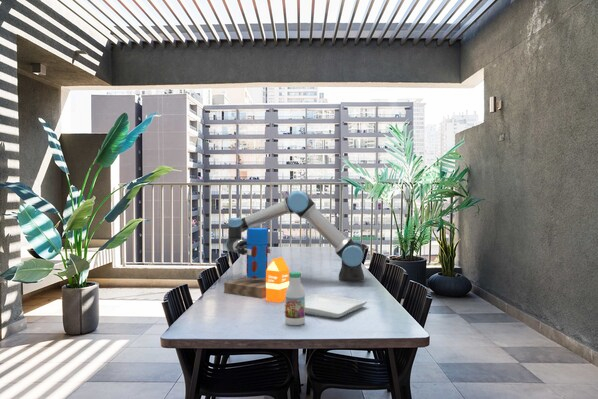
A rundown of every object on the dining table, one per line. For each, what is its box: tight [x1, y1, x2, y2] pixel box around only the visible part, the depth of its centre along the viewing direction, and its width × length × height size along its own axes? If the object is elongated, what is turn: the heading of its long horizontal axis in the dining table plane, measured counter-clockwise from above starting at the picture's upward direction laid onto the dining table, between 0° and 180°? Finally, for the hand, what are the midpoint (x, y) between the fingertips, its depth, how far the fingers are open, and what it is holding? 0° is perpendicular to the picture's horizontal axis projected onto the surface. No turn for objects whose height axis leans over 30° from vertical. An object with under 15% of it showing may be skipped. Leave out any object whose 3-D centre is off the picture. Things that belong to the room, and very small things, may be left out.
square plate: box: [305, 293, 368, 319], centre depth 207 cm, size 27×27×4 cm
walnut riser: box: [223, 276, 266, 299], centre depth 245 cm, size 24×24×5 cm
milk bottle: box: [284, 271, 306, 326], centre depth 186 cm, size 8×8×20 cm
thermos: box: [246, 227, 269, 279], centre depth 245 cm, size 11×11×25 cm
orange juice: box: [265, 256, 290, 303], centre depth 226 cm, size 8×9×20 cm
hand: (260, 251), depth 242 cm, fingers closed on thermos, 11 cm apart
